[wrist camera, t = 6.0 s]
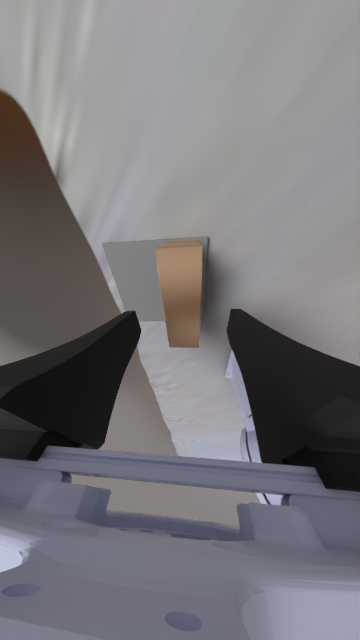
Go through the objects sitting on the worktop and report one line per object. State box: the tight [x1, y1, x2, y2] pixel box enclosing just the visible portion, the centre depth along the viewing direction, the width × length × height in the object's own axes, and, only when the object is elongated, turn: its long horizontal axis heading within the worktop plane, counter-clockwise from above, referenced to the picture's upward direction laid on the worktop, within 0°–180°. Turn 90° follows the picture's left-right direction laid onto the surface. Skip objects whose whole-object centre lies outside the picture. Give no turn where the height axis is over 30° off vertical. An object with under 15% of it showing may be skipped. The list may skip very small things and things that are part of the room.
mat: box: [102, 237, 208, 321], centre depth 16 cm, size 10×11×1 cm
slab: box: [155, 240, 203, 347], centre depth 13 cm, size 9×3×6 cm, turn 3°
